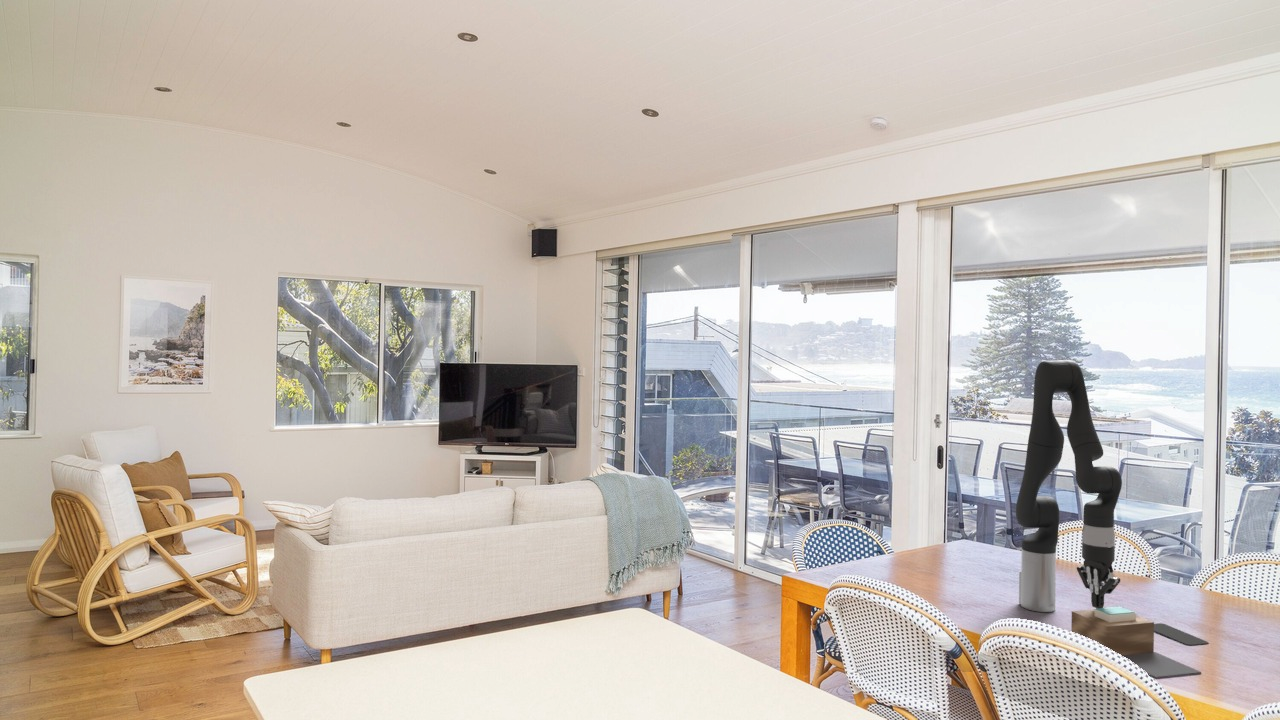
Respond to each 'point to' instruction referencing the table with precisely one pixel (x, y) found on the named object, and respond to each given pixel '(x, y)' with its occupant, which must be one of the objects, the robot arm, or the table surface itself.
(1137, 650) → the brown wooden block
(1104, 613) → the card box
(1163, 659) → the rubber mat
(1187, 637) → the smartphone
